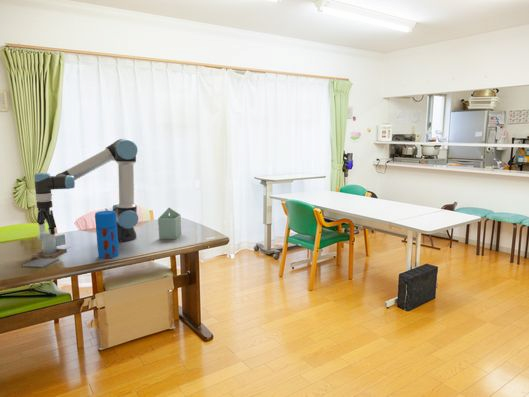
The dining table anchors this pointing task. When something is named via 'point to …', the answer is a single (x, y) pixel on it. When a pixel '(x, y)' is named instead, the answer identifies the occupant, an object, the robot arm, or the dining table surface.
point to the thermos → (106, 234)
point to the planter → (169, 225)
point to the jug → (51, 242)
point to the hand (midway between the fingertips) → (47, 237)
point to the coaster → (40, 262)
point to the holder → (41, 255)
